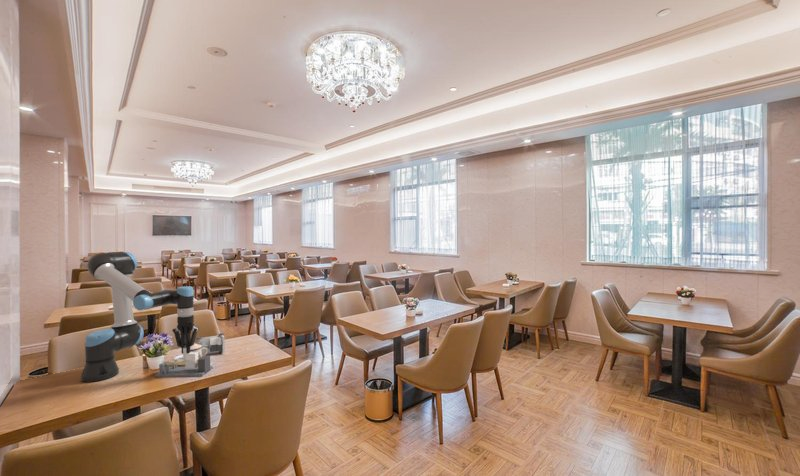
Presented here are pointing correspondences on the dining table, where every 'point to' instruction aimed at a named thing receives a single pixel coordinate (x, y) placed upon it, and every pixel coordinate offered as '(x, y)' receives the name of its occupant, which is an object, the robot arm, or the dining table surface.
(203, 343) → the toy buggy
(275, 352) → the dining table surface
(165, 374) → the grey stepped fixture
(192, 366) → the marker sleeve
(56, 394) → the dining table surface
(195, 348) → the teacup with lid
